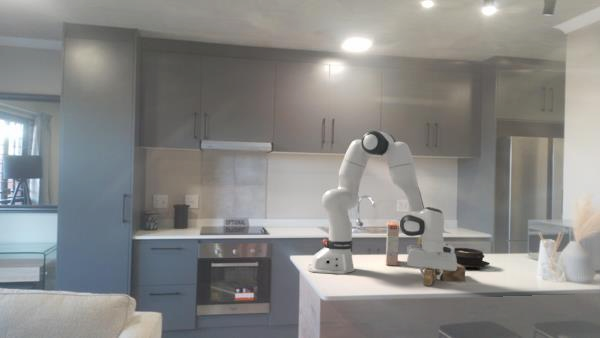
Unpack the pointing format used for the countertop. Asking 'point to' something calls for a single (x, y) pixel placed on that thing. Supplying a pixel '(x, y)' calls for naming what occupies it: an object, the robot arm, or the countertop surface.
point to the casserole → (470, 258)
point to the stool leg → (429, 276)
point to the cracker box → (392, 243)
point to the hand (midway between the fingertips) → (431, 278)
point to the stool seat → (452, 274)
